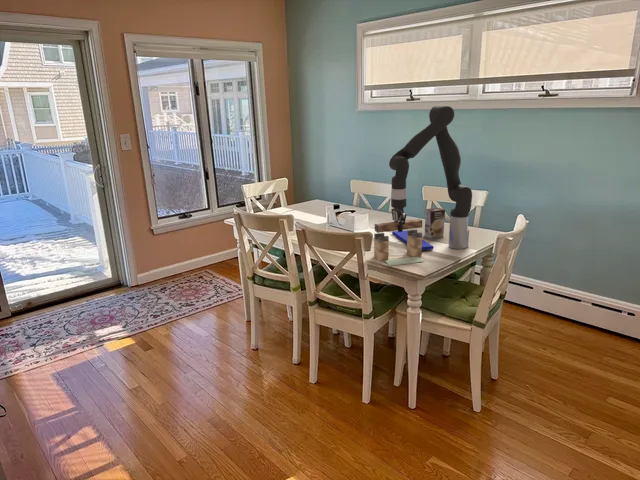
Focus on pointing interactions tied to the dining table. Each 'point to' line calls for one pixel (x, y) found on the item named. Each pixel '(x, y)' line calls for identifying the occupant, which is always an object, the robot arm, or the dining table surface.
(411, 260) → the mat
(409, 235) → the post
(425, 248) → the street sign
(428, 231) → the coffee box
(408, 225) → the rail
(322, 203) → the dining table surface
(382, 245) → the post
